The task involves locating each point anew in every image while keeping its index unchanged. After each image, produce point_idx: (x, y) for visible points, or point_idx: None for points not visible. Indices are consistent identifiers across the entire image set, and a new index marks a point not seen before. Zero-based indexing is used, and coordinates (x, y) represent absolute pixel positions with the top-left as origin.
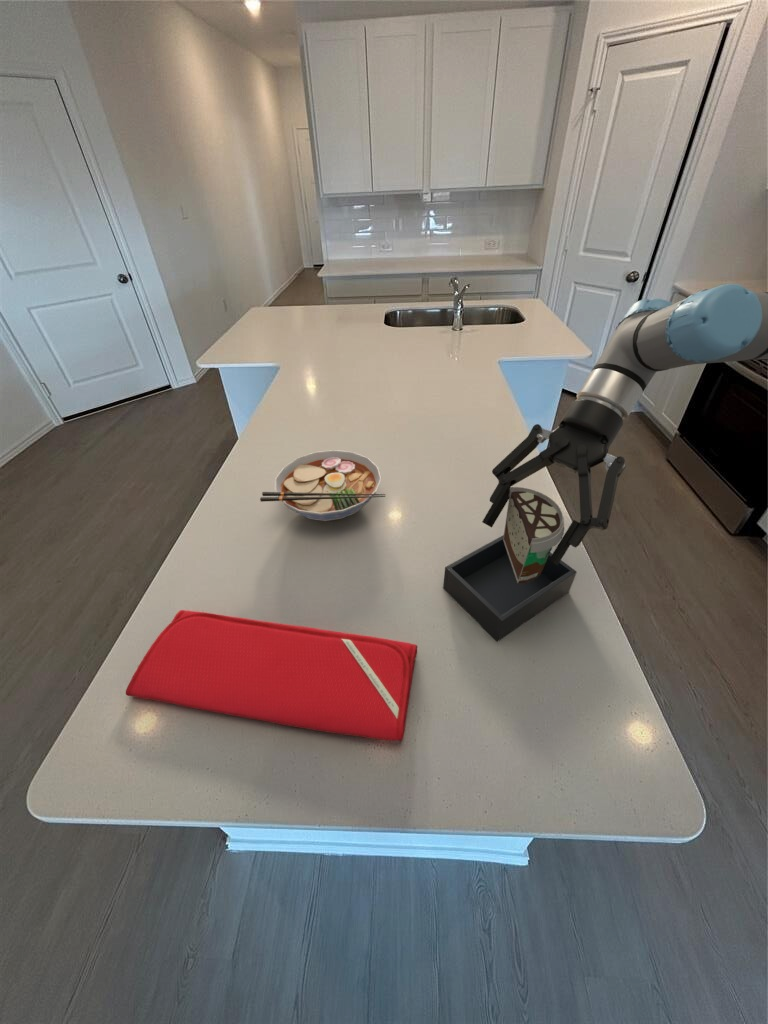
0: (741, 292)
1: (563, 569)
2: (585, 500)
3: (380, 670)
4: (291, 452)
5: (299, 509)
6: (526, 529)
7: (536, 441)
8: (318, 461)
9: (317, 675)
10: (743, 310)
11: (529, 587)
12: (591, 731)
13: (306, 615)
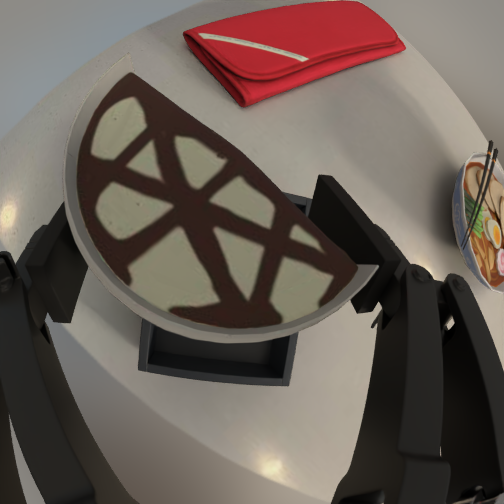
0: None
1: (161, 363)
2: (12, 359)
3: (248, 51)
4: None
5: (474, 164)
6: (177, 106)
7: (472, 491)
8: None
9: (287, 28)
10: None
11: None
12: (39, 177)
13: (358, 86)
